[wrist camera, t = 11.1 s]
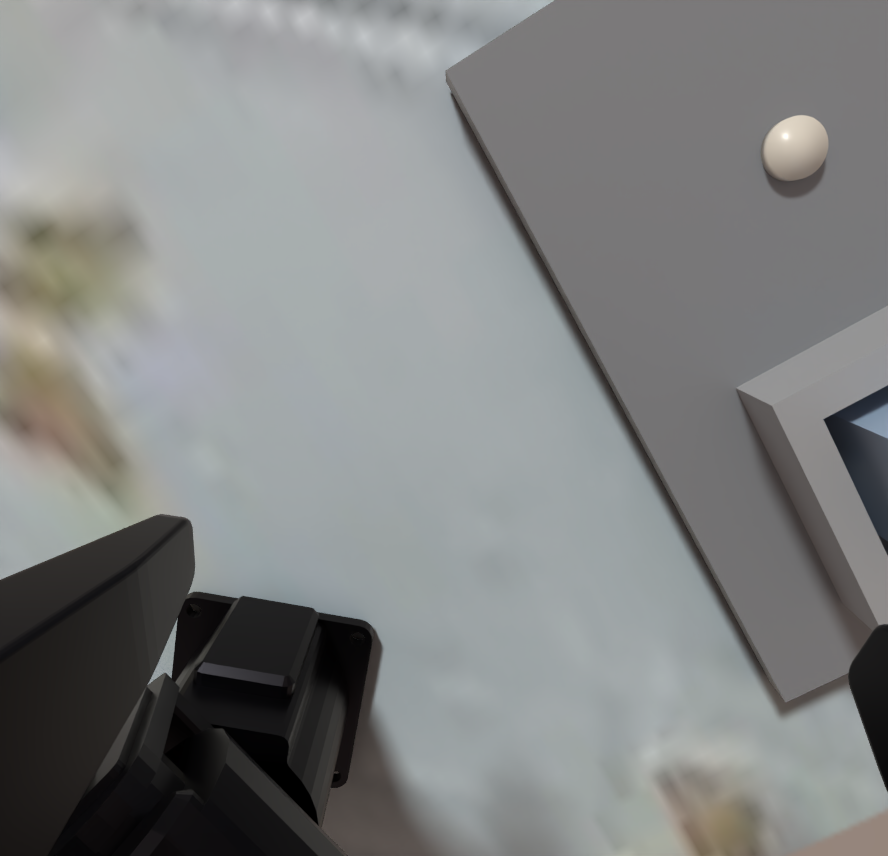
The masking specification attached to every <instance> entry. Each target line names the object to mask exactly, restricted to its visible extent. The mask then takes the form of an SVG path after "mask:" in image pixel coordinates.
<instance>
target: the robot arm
mask: <svg viewBox="0 0 888 856" xmlns="http://www.w3.org/2000/svg"><path fill="white" fill-rule="evenodd" d="M194 572H195V556H194V542H193V529H192V524H191V522H190V521H189V520H188V519H187V518H184V517H178V516H171V515H165V514H160V515H156V516H153V517H151V518H148V519H146V520H143V521H141V522H139V523H136V524H134V525H131V526H129V527H127V528H124V529H122V530H119V531H117V532H115V533H112V534H110V535H107V536H105V537H102V538H100V539H98V540H95V541H93V542H90V543H88V544H86V545H83V546H81V547H78V548H76V549H74V550H71V551H69V552H66V553H64V554H62V555H59V556H57V557H54V558H52V559H49V560H47V561H45V562H42V563H40V564H37V565H35V566H33V567H30V568H28V569H25V570H23V571H21V572H18V573H16V574H13V575H11V576H8V577H6V578H4V579H1V580H0V856H348V855H347V854H346V853H345V852H344V851H343V850H342V849H341V848H340V847H339V846H338V845H337V844H336V843H335V842H334V841H333V840H332V839H331V838H330V837H329V836H328V835H327V834H326V833H325V832H324V831H323V830H322V829H321V828H322V823H323V819H324V814H325V810H326V806H327V801H328V797H329V792H330V788H337V787H340V786H342V785H344V784H345V783H346V781H347V778H348V773H349V768H350V763H351V757H352V752H353V746H354V740H355V735H356V729H357V724H358V718H359V713H360V707H361V702H362V696H363V691H364V685H365V679H366V674H367V668H368V663H369V657H370V652H371V646H372V641H373V629H372V627H371V625H370V624H369V623H367V622H366V621H363V620H359V619H353V618H348V617H342V616H336V615H330V614H324V613H319V612H316V611H315V610H314V609H313V608H309V607H304V606H298V605H292V604H286V603H281V602H275V601H269V600H263V599H257V598H252V597H246V596H242V597H240V598H239V599H238V598H232V597H226V596H220V595H214V594H209V593H203V592H192V593H190V594H188V592H189V590H190V587H191V585H192V581H193V578H194ZM187 594H188V595H187ZM191 604H196V605H198V606H199V607H200V608H201V612H196V611H194V610H193V609H192V608H191ZM177 618H178V622H177V631H176V641H175V651H174V661H173V670H172V679H171V678H170V677H169V676H168V675H167V674H166V673H164V674H162V675H161V676H159V677H158V678H157V679H155V680H154V681H153V682H151V683H150V684H149V685H147V684H148V683H149V681H150V679H151V677H152V675H153V673H154V670H155V668H156V666H157V664H158V662H159V659H160V657H161V655H162V652H163V650H164V648H165V646H166V643H167V641H168V639H169V636H170V634H171V632H172V629H173V627H174V625H175V622H176V620H177ZM356 632H359V633H361V634H363V635H364V637H365V638H363V639H359V640H357V639H355V638H354V637H353V636H352V634H353V633H356ZM848 678H849V685H850V689H851V692H852V694H853V697H854V700H855V703H856V706H857V709H858V712H859V714H860V717H861V720H862V723H863V726H864V729H865V732H866V734H867V737H868V740H869V743H870V746H871V749H872V752H873V754H874V757H875V760H876V763H877V766H878V769H879V771H880V774H881V777H882V779H883V782H884V784H885V787H886V789H887V792H888V624H882V625H879V626H877V627H876V628H875V629H874V630H873V631H872V633H871V634H870V635H869V637H868V638H867V640H866V641H865V643H864V644H863V646H862V647H861V649H860V650H859V652H858V653H857V655H856V656H855V658H854V659H853V661H852V663H851V665H850V668H849V675H848ZM334 770H336V771H338V772H339V773H338V774H334Z"/></svg>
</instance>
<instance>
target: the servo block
mask: <svg viewBox="0 0 888 856" xmlns="http://www.w3.org/2000/svg"><path fill="white" fill-rule="evenodd" d="M823 420H824V422H825V424H826V426H827V428H828V430H829V432H830V435H831V437H832V439H833V441H834V443H835V445H836V447H837V449H838V452H839V454H840V456H841V458H842V460H843V462H844V464H845V466H846V468H847V471H848V473H849V475H850V477H851V479H852V481H853V483H854V485H855V488H856V490H857V492H858V494H859V496H860V498H861V500H862V502H863V505H864V507H865V509H866V511H867V513H868V515H869V517H870V519H871V521H872V524H873V526H874V528H875V530H876V532H877V534H878V535H879V536H881V537H882V538H884V539H885V540H887V541H888V385H887V386H885V387H884V388H882V389H880V390H878V391H876V392H874V393H872V394H870V395H868V396H866V397H864V398H863V399H861V400H859V401H857V402H855V403H853V404H851V405H849V406H847V407H845V408H844V409H842V410H840V411H838V412H836V413H834V414H832V415H830V416H828V417H826V418H825V419H823Z"/></svg>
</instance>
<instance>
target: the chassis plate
mask: <svg viewBox="0 0 888 856" xmlns="http://www.w3.org/2000/svg"><path fill="white" fill-rule="evenodd" d="M446 82H447V84H448V86H449V88H450V90H451V91H452V93H453V95H454V97H455V99H456V101H457V103H458V104H459V106H460V108H461V110H462V112H463V114H464V116H465V117H466V119H467V121H468V123H469V125H470V127H471V129H472V130H473V132H474V134H475V136H476V138H477V140H478V142H479V143H480V145H481V147H482V149H483V151H484V153H485V155H486V156H487V158H488V160H489V162H490V164H491V166H492V167H493V169H494V171H495V173H496V175H497V177H498V179H499V180H500V182H501V184H502V186H503V188H504V190H505V192H506V193H507V195H508V197H509V199H510V201H511V203H512V205H513V206H514V208H515V210H516V212H517V214H518V216H519V218H520V219H521V221H522V223H523V225H524V227H525V229H526V231H527V232H528V234H529V236H530V238H531V240H532V242H533V243H534V245H535V247H536V249H537V251H538V253H539V255H540V256H541V258H542V260H543V262H544V264H545V266H546V268H547V269H548V271H549V273H550V275H551V277H552V279H553V281H554V282H555V284H556V286H557V288H558V290H559V292H560V294H561V295H562V297H563V299H564V301H565V303H566V305H567V307H568V308H569V310H570V312H571V314H572V316H573V318H574V319H575V321H576V323H577V325H578V327H579V329H580V331H581V332H582V334H583V336H584V338H585V340H586V342H587V344H588V345H589V347H590V349H591V351H592V353H593V355H594V357H595V358H596V360H597V362H598V364H599V366H600V368H601V370H602V371H603V373H604V375H605V377H606V379H607V381H608V383H609V384H610V386H611V388H612V390H613V392H614V394H615V395H616V397H617V399H618V401H619V403H620V405H621V407H622V408H623V410H624V412H625V414H626V416H627V418H628V420H629V421H630V423H631V425H632V427H633V429H634V431H635V433H636V434H637V436H638V438H639V440H640V442H641V444H642V446H643V447H644V449H645V451H646V453H647V455H648V457H649V459H650V460H651V462H652V464H653V466H654V468H655V470H656V471H657V473H658V475H659V477H660V479H661V481H662V483H663V484H664V486H665V488H666V490H667V492H668V494H669V496H670V497H671V499H672V501H673V503H674V505H675V507H676V509H677V510H678V512H679V514H680V516H681V518H682V520H683V522H684V523H685V525H686V527H687V529H688V531H689V533H690V534H691V536H692V538H693V540H694V542H695V544H696V546H697V547H698V549H699V551H700V553H701V555H702V557H703V559H704V560H705V562H706V564H707V566H708V568H709V570H710V572H711V573H712V575H713V577H714V579H715V581H716V583H717V585H718V586H719V588H720V590H721V592H722V594H723V596H724V598H725V599H726V601H727V603H728V605H729V607H730V609H731V610H732V612H733V614H734V616H735V618H736V620H737V622H738V623H739V625H740V627H741V629H742V631H743V633H744V635H745V636H746V638H747V640H748V642H749V644H750V646H751V648H752V649H753V651H754V653H755V655H756V657H757V659H758V661H759V662H760V664H761V666H762V668H763V670H764V672H765V674H766V675H767V677H768V679H769V681H770V682H771V684H772V685H773V686H774V688H775V689H776V690H777V692H778V693H779V695H780V696H781V697H782V699H783V700H784V701H785V703H786V702H788V701H790V700H792V699H794V698H797V697H799V696H801V695H803V694H805V693H807V692H809V691H811V690H814V689H816V688H818V687H820V686H822V685H824V684H826V683H828V682H831V681H833V680H835V679H837V678H839V677H841V676H843V675H845V674H847V673H849V668H850V665H851V663H852V661H853V659H854V658H855V656H856V655H857V653H858V652H859V650H860V649H861V647H862V646H863V644H864V643H865V641H866V640H867V638H868V637H869V635H870V634H871V633H872V631H873V630H874V629H875V628H876V627H877V626H879V625H882V624H888V541H887V540H885V539H884V538H882V537H881V536H879V535H878V534H877V532H876V530H875V528H874V526H873V524H872V521H871V519H870V517H869V515H868V513H867V511H866V509H865V507H864V505H863V502H862V500H861V498H860V496H859V494H858V492H857V490H856V488H855V485H854V483H853V481H852V479H851V477H850V475H849V473H848V471H847V468H846V466H845V464H844V462H843V460H842V458H841V456H840V454H839V452H838V449H837V447H836V445H835V443H834V441H833V439H832V437H831V435H830V432H829V430H828V428H827V426H826V424H825V422H824V420H823V419H825V418H826V417H828V416H830V415H832V414H834V413H836V412H838V411H840V410H842V409H844V408H845V407H847V406H849V405H851V404H853V403H855V402H857V401H859V400H861V399H863V398H864V397H866V396H868V395H870V394H872V393H874V392H876V391H878V390H880V389H882V388H884V387H885V386H887V385H888V0H554V1H553V2H551V3H550V4H548V5H547V6H545V7H544V8H542V9H541V10H539V11H537V12H536V13H534V14H533V15H531V16H530V17H528V18H527V19H525V20H524V21H522V22H520V23H519V24H517V25H516V26H514V27H513V28H511V29H510V30H508V31H506V32H505V33H503V34H502V35H500V36H499V37H497V38H496V39H494V40H493V41H491V42H489V43H488V44H486V45H485V46H483V47H482V48H480V49H479V50H477V51H475V52H474V53H472V54H471V55H469V56H468V57H466V58H465V59H463V60H462V61H460V62H458V63H457V64H455V65H454V66H452V67H451V68H449V69H448V70H446Z"/></svg>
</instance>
